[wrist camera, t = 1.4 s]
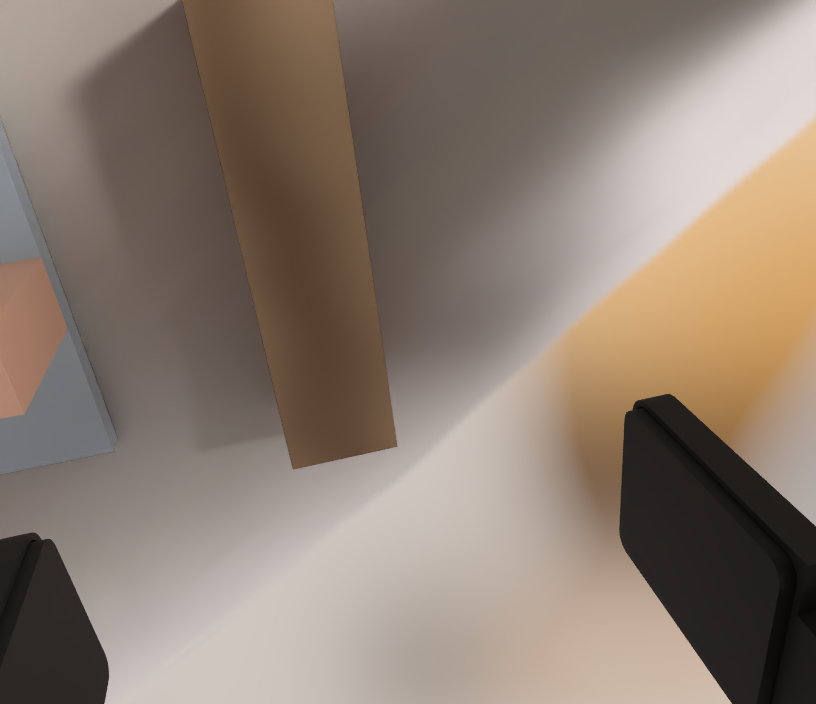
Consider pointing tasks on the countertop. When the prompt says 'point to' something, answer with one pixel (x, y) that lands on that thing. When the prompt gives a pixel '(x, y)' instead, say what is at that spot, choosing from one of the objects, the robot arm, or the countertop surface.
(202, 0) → the walnut bar
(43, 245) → the fulcrum stand
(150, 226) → the countertop surface
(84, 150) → the countertop surface
